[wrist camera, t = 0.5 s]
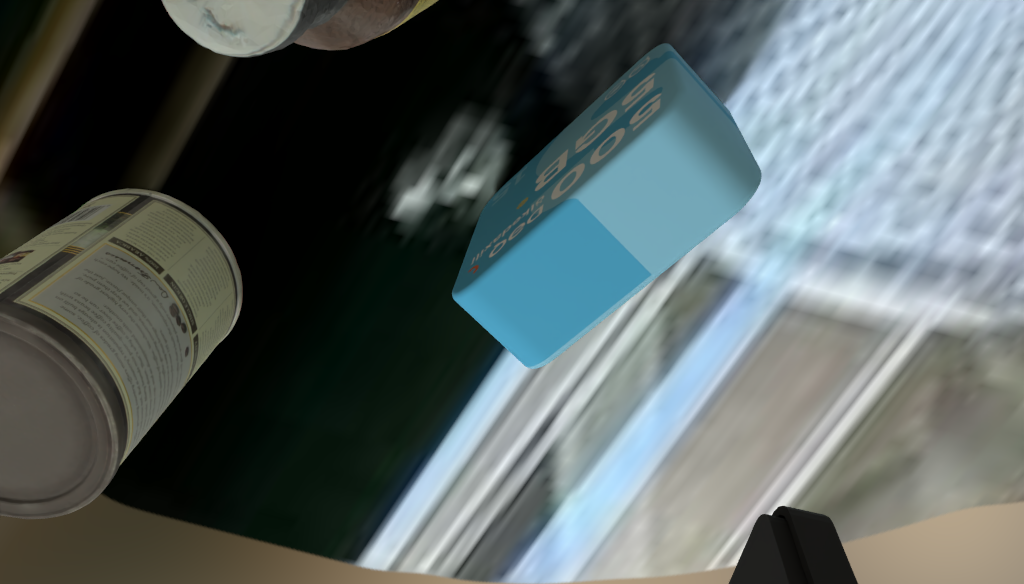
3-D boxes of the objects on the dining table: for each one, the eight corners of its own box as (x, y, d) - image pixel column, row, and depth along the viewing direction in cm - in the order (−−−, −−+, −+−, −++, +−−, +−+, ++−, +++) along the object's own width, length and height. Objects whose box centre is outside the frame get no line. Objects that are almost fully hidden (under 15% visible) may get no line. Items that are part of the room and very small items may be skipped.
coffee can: (180, 389, 51) (39, 559, 38) (29, 274, 49) (-174, 415, 36) (282, 277, 47) (164, 425, 34) (124, 146, 45) (-65, 253, 32)
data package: (665, 35, 40) (686, 93, 29) (728, 106, 41) (772, 188, 30) (482, 203, 44) (443, 309, 33) (544, 264, 45) (525, 385, 35)
